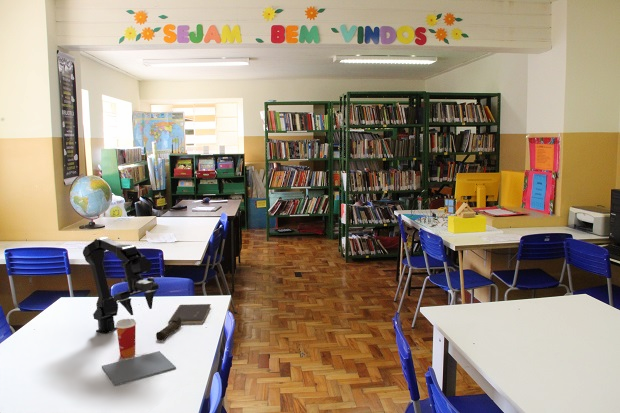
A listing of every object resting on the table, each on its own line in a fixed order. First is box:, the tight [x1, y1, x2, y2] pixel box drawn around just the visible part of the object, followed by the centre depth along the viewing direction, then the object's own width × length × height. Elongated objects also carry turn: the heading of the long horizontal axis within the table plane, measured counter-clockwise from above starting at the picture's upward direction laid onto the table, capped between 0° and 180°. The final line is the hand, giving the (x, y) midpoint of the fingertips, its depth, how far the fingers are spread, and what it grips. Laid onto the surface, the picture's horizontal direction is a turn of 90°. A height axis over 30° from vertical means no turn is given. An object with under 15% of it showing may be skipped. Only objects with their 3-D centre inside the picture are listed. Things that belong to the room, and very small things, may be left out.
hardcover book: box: [167, 303, 211, 326], centre depth 242 cm, size 16×23×2 cm
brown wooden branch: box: [155, 317, 182, 341], centre depth 221 cm, size 19×4×5 cm, turn 165°
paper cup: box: [115, 318, 137, 359], centre depth 197 cm, size 8×8×14 cm
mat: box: [101, 350, 177, 387], centre depth 186 cm, size 18×22×1 cm
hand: (141, 311), depth 207 cm, fingers open, 9 cm apart
